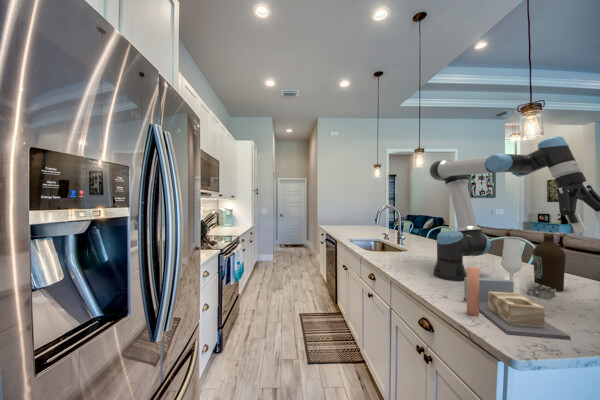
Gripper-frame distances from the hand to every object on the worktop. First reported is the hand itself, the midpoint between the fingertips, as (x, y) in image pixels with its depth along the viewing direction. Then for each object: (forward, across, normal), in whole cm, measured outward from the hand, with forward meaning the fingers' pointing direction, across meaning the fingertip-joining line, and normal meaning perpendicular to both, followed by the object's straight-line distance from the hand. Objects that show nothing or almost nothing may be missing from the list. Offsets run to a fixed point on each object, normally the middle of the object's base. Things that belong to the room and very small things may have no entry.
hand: (595, 230), depth 85 cm
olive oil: (+22, +15, +33) cm, 42 cm away
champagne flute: (+21, -13, +27) cm, 37 cm away
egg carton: (+23, +1, +27) cm, 35 cm away
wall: (+20, -29, +24) cm, 42 cm away
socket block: (+24, -34, +11) cm, 43 cm away
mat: (+24, -33, +14) cm, 43 cm away
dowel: (+22, -43, +18) cm, 52 cm away
